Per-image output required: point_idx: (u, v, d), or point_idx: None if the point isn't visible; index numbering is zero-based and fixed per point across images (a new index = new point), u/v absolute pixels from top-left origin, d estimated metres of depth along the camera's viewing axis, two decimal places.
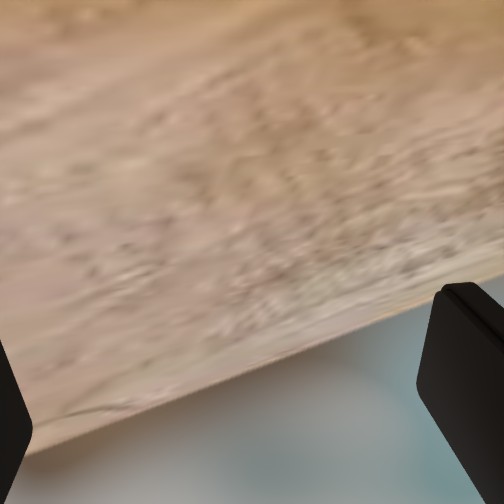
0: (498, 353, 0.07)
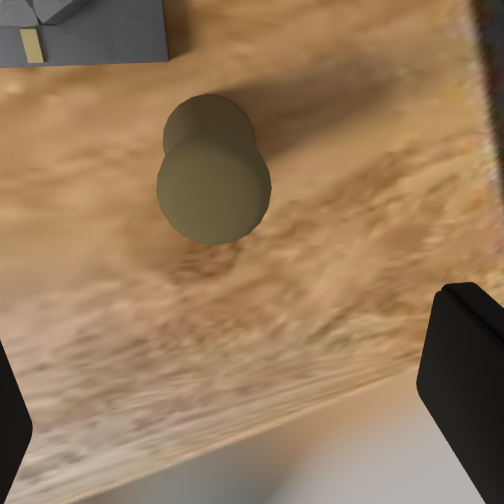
0: (498, 353, 0.07)
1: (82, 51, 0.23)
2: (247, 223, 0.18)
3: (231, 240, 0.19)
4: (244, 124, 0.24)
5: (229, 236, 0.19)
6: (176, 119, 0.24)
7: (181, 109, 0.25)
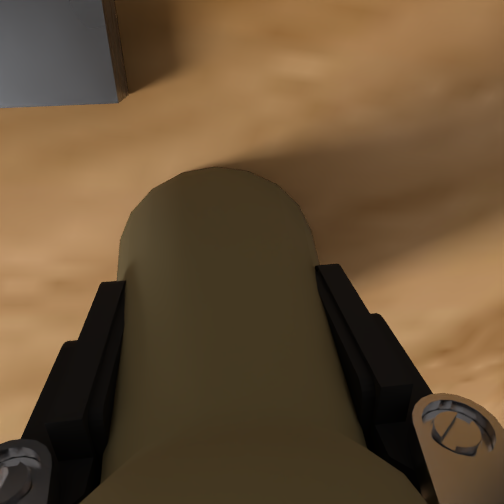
0: (331, 323, 0.08)
1: None
2: None
3: None
4: (307, 253, 0.10)
5: None
6: (140, 240, 0.10)
7: (155, 208, 0.11)
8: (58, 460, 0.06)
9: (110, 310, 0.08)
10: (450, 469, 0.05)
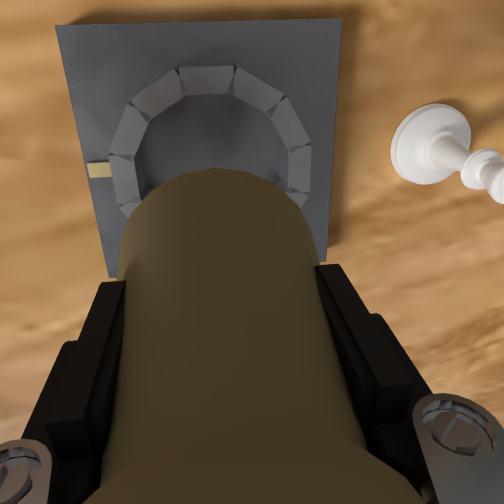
0: (331, 323, 0.08)
1: None
2: None
3: None
4: (307, 254, 0.10)
5: None
6: (140, 241, 0.10)
7: (155, 209, 0.10)
8: (58, 460, 0.06)
9: (110, 310, 0.08)
10: (450, 469, 0.05)
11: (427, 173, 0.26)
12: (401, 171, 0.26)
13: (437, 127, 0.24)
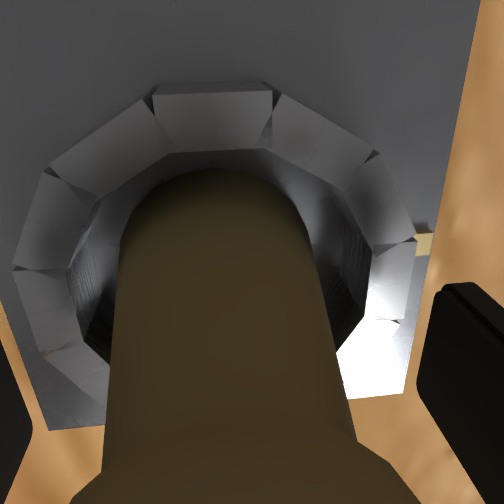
0: (498, 353, 0.07)
1: (426, 168, 0.12)
2: None
3: None
4: (302, 252, 0.10)
5: None
6: (140, 239, 0.10)
7: (154, 209, 0.11)
8: None
9: None
10: None
11: None
12: None
13: None
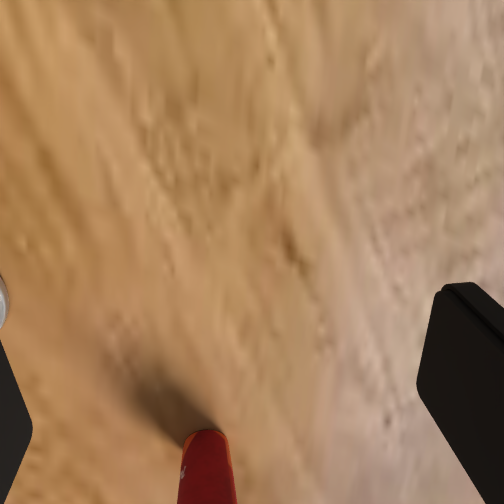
0: (498, 353, 0.07)
1: None
2: None
3: None
4: None
5: None
6: None
7: None
8: None
9: None
10: None
11: None
12: None
13: None
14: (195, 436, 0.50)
